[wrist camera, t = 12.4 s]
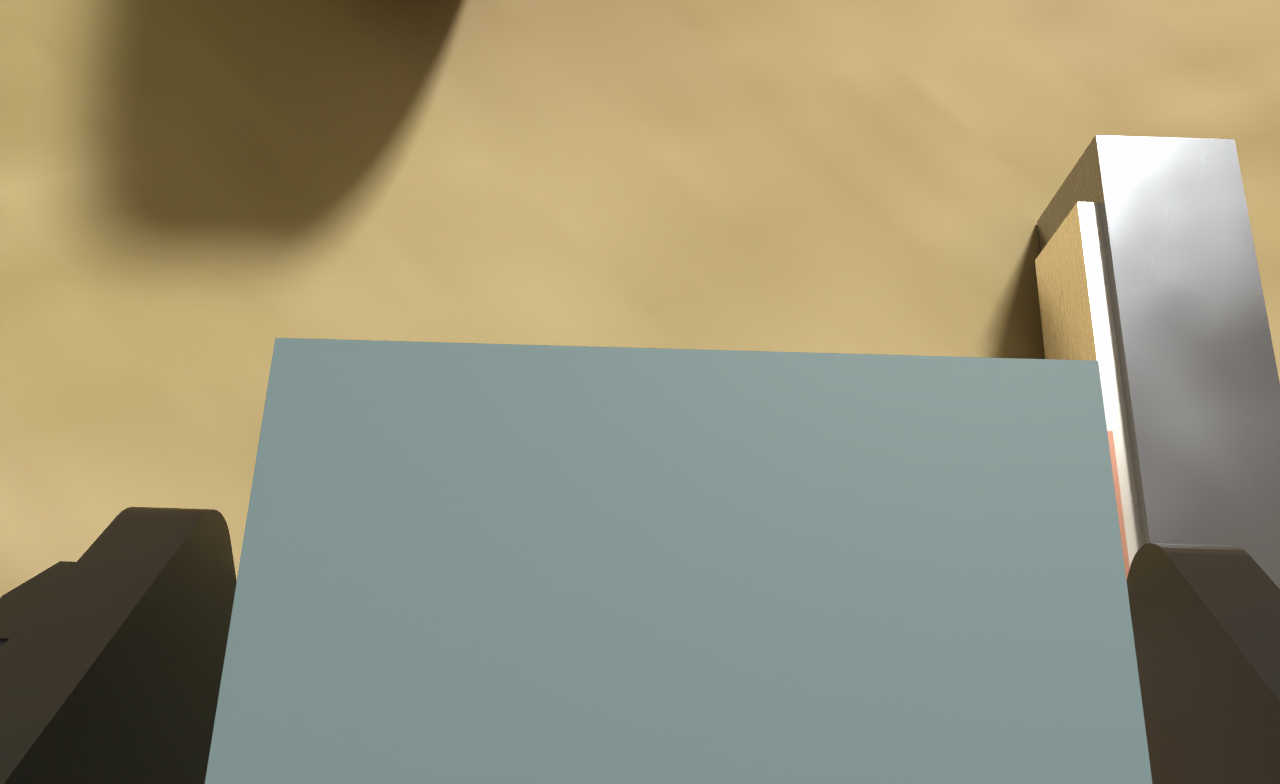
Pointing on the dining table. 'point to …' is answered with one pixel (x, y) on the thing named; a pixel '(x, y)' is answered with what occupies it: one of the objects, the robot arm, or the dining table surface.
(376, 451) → the carton
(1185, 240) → the price rail
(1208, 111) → the dining table surface
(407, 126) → the dining table surface
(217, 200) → the dining table surface
